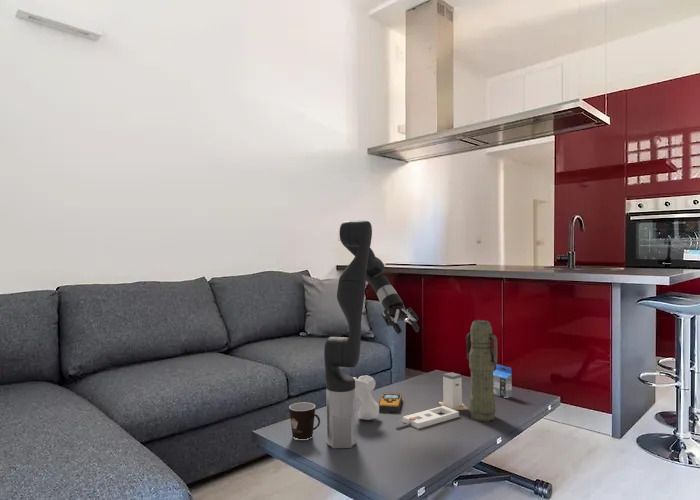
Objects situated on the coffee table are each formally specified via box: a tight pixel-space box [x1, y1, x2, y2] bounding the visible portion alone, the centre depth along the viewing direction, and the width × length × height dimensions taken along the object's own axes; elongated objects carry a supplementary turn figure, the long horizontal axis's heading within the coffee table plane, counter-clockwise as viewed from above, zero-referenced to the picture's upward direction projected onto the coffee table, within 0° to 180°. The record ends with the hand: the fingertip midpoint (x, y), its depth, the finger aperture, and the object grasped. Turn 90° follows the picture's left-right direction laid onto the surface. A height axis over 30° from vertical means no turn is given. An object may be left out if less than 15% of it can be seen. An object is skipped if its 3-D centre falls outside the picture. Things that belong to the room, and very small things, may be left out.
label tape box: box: [493, 363, 513, 399], centre depth 188 cm, size 9×4×12 cm, turn 28°
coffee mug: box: [288, 401, 321, 439], centre depth 145 cm, size 12×9×10 cm
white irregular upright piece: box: [352, 374, 380, 421], centre depth 162 cm, size 10×11×15 cm
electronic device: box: [378, 392, 403, 414], centre depth 176 cm, size 8×16×3 cm, turn 169°
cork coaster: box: [438, 401, 469, 411], centre depth 175 cm, size 9×9×1 cm
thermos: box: [465, 319, 499, 422], centre depth 163 cm, size 9×12×35 cm
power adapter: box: [442, 372, 463, 408], centre depth 175 cm, size 5×5×12 cm
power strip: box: [395, 405, 460, 430], centre depth 159 cm, size 8×26×2 cm, turn 124°
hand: (409, 332), depth 166 cm, fingers open, 8 cm apart
